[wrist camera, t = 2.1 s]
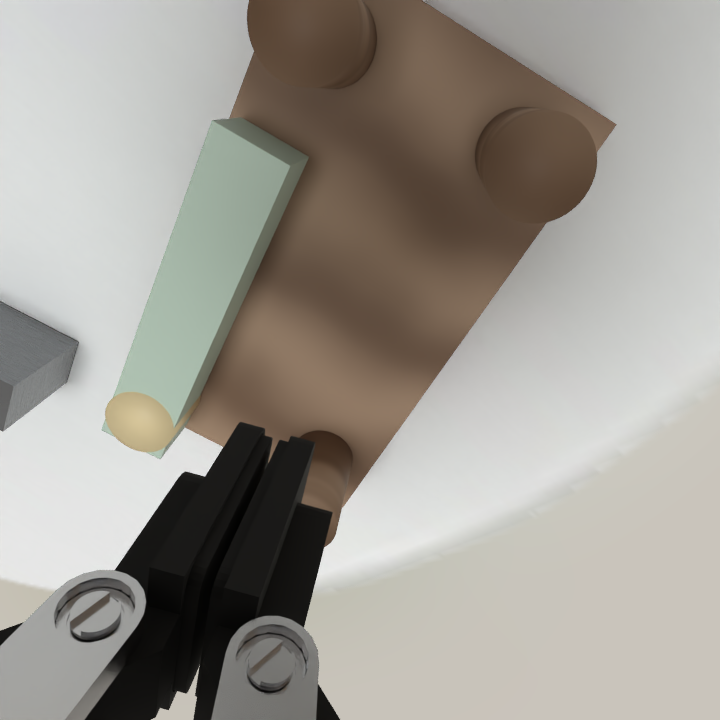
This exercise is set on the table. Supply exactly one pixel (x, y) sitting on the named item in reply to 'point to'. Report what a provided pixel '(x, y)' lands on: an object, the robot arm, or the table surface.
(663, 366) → the table surface
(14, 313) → the block
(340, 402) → the stool seat
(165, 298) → the folding leg
